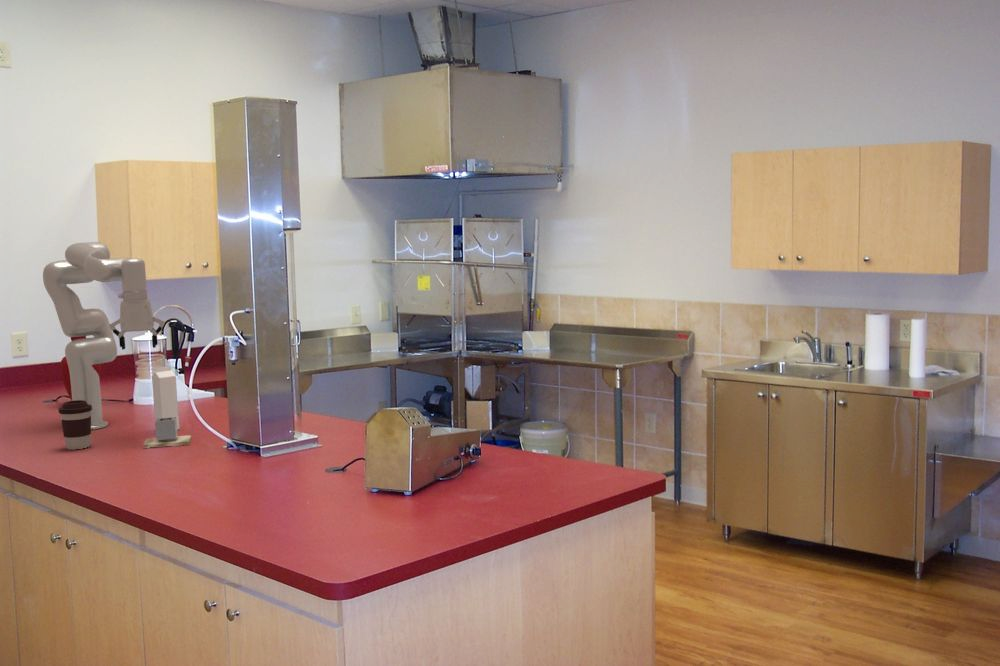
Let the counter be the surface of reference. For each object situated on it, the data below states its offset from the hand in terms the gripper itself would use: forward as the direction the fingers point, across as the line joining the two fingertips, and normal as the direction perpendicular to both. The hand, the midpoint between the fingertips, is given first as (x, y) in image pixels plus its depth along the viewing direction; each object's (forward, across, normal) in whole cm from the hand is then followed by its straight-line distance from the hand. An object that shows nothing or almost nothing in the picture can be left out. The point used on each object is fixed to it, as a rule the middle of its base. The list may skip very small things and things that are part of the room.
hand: (139, 348), depth 342 cm
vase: (+31, -31, +76) cm, 88 cm away
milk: (+31, +6, +12) cm, 33 cm away
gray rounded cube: (+28, +8, -12) cm, 32 cm away
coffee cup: (+31, -20, -7) cm, 37 cm away
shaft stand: (+30, +8, -12) cm, 34 cm away
